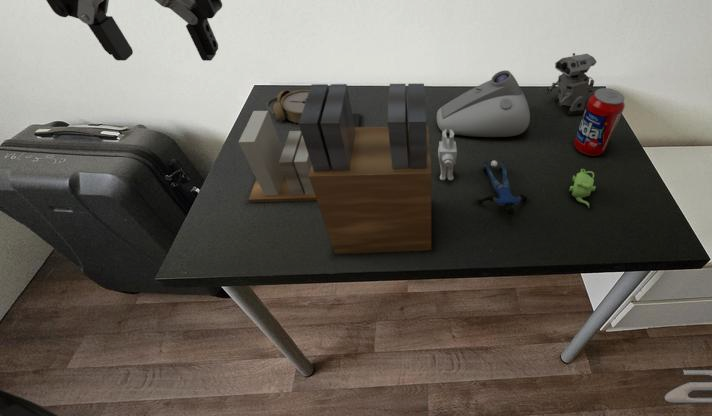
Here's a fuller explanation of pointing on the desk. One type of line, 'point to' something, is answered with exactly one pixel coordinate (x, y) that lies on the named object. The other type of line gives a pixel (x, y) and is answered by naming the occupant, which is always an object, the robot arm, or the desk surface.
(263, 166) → the gray rectangular block
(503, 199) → the person figurine
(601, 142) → the soda can
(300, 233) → the desk surface
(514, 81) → the projector
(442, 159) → the toy robot
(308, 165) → the wooden display stand
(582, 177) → the green kettle
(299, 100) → the alarm clock
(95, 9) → the robot arm
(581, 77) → the figurine
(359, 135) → the wooden knife block
